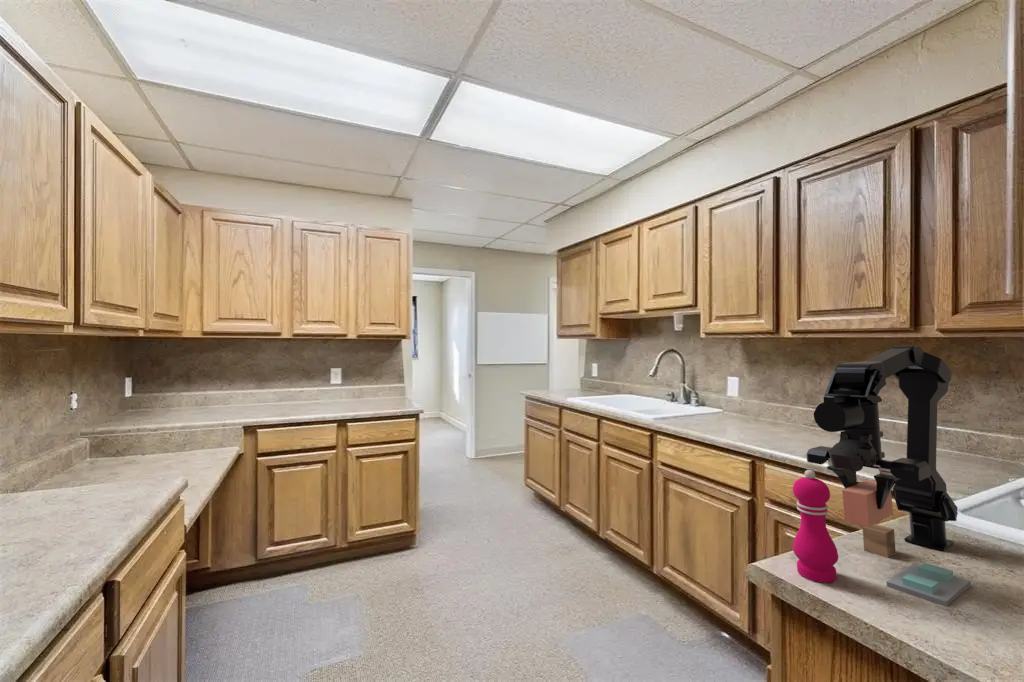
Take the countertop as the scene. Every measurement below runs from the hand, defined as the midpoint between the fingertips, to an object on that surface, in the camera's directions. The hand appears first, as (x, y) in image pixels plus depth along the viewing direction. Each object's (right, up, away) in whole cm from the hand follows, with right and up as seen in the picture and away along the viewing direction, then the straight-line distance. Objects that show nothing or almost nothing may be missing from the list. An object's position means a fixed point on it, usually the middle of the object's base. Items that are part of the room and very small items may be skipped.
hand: (866, 505), depth 88 cm
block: (+7, -12, +6) cm, 15 cm away
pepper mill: (-12, -13, -2) cm, 17 cm away
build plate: (+5, -12, -8) cm, 15 cm away
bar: (+1, -2, 0) cm, 3 cm away
